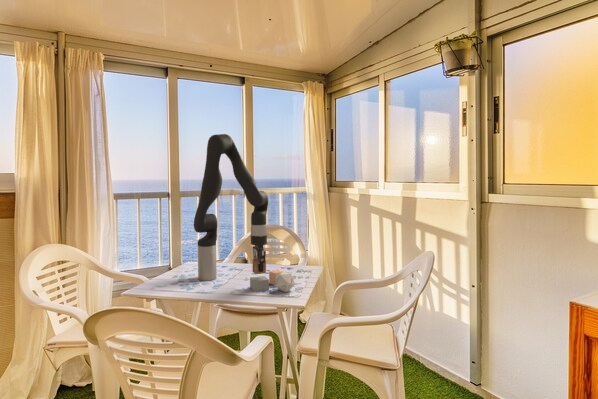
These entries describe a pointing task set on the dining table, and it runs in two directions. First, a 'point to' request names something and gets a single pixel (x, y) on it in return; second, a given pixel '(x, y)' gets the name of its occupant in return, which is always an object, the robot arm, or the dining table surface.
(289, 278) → the die
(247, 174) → the robot arm
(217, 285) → the dining table surface
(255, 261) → the walnut block
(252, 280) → the slate block
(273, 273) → the terracotta block
